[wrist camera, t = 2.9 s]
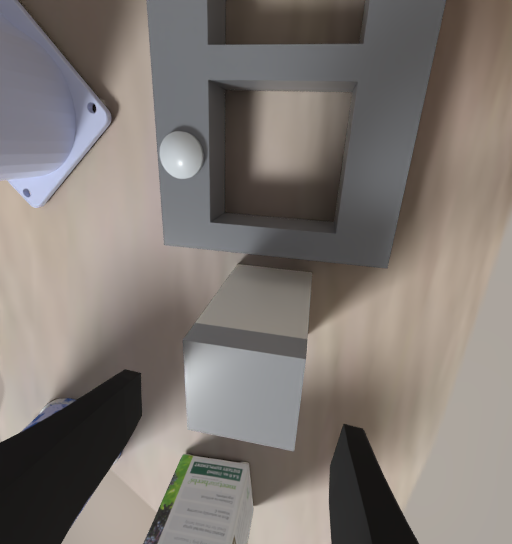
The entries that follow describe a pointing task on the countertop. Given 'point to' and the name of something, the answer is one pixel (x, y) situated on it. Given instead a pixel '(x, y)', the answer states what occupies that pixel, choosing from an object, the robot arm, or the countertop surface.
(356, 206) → the socket board
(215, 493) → the syrup box
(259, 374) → the plug
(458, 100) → the countertop surface
